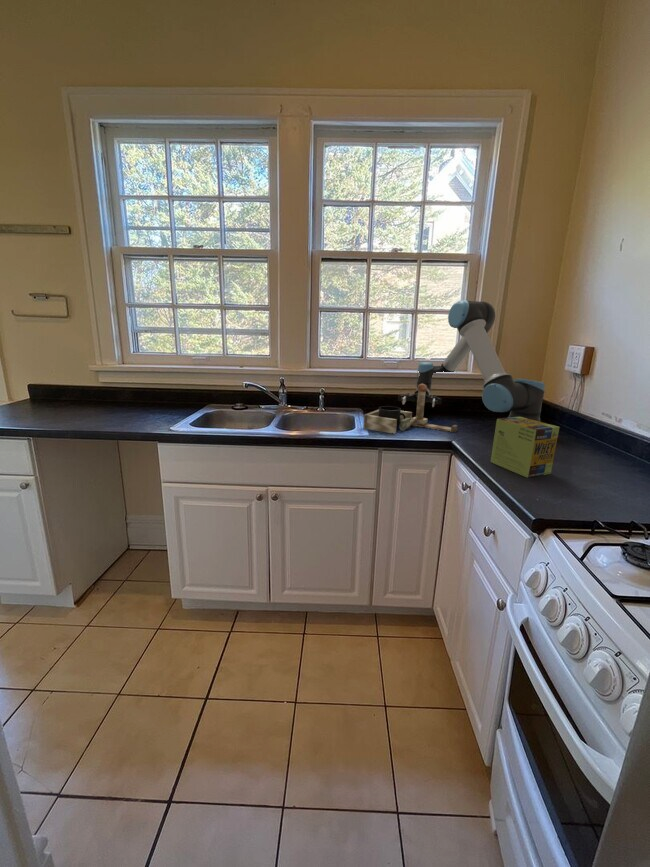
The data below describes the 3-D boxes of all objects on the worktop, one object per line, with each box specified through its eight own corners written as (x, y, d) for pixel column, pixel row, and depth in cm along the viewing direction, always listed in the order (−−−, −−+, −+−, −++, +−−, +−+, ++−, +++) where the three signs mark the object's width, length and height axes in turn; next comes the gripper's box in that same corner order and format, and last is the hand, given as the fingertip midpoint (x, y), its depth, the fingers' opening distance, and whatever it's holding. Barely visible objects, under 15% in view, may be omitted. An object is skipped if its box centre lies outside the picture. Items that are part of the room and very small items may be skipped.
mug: (407, 431, 170) (408, 410, 168) (379, 430, 170) (381, 410, 167) (402, 425, 180) (403, 406, 177) (376, 425, 179) (377, 405, 176)
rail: (456, 430, 173) (457, 425, 172) (454, 432, 170) (455, 427, 169) (401, 421, 187) (401, 416, 186) (398, 423, 183) (398, 418, 183)
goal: (411, 424, 181) (412, 412, 179) (394, 433, 166) (395, 420, 164) (381, 420, 189) (382, 407, 187) (363, 428, 174) (363, 414, 172)
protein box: (528, 478, 121) (536, 429, 116) (489, 462, 134) (496, 418, 130) (551, 474, 125) (560, 426, 120) (512, 458, 138) (519, 415, 134)
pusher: (427, 424, 180) (431, 383, 175) (413, 432, 167) (417, 388, 162) (414, 422, 184) (417, 382, 178) (400, 430, 170) (403, 386, 165)
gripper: (446, 404, 199) (445, 413, 179) (396, 400, 206) (390, 408, 186) (448, 389, 197) (447, 396, 177) (397, 386, 204) (391, 392, 184)
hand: (418, 402), depth 182 cm, fingers open, 13 cm apart
